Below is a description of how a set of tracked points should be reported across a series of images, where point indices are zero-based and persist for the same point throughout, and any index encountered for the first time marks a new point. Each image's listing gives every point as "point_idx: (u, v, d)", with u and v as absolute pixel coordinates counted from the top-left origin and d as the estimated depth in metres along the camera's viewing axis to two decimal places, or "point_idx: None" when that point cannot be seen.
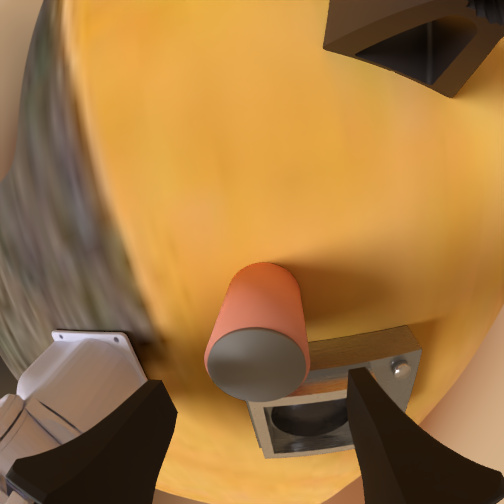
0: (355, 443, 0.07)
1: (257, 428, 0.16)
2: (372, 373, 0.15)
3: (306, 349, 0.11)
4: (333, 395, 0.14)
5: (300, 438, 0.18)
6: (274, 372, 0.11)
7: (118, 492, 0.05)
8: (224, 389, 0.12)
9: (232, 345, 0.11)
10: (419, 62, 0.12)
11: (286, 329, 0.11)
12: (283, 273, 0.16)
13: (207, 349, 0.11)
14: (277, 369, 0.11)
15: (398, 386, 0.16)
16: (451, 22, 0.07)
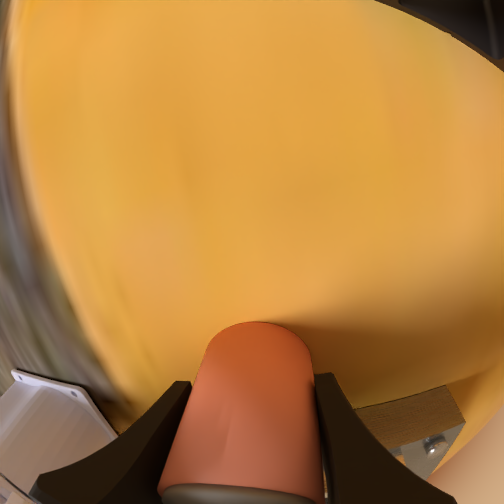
0: (321, 449, 0.08)
1: None
2: (402, 459, 0.08)
3: (321, 499, 0.04)
4: None
5: None
6: None
7: (152, 502, 0.05)
8: None
9: (195, 499, 0.04)
10: (480, 28, 0.05)
11: (290, 487, 0.04)
12: (288, 341, 0.10)
13: (159, 488, 0.05)
14: None
15: (427, 459, 0.09)
16: None
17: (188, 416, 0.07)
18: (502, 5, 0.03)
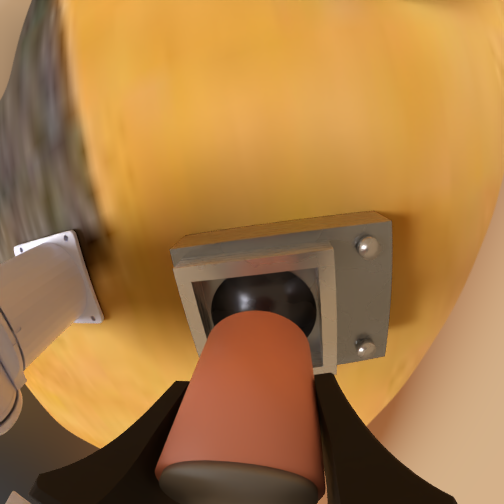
0: None
1: (189, 323, 0.14)
2: (328, 243, 0.13)
3: (320, 480, 0.05)
4: (276, 263, 0.13)
5: None
6: None
7: (152, 502, 0.05)
8: None
9: (191, 479, 0.05)
10: None
11: (285, 464, 0.05)
12: (285, 327, 0.10)
13: (157, 471, 0.05)
14: (271, 502, 0.05)
15: (371, 279, 0.14)
16: None
17: (186, 399, 0.07)
18: None
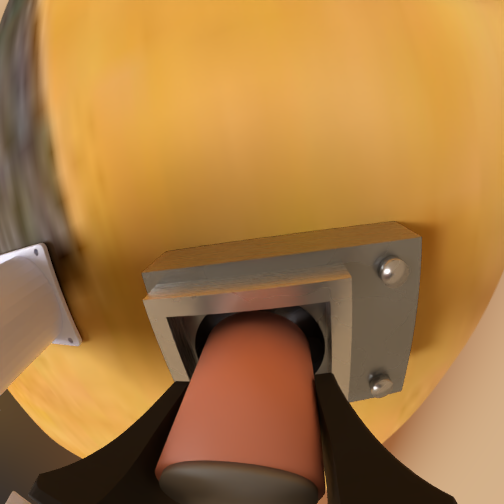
0: None
1: (168, 363, 0.11)
2: (343, 267, 0.10)
3: (320, 480, 0.05)
4: (274, 296, 0.10)
5: None
6: None
7: (152, 502, 0.05)
8: None
9: (191, 479, 0.05)
10: None
11: (285, 464, 0.05)
12: (285, 328, 0.10)
13: (157, 471, 0.05)
14: (271, 502, 0.05)
15: (393, 309, 0.11)
16: None
17: (186, 399, 0.07)
18: None
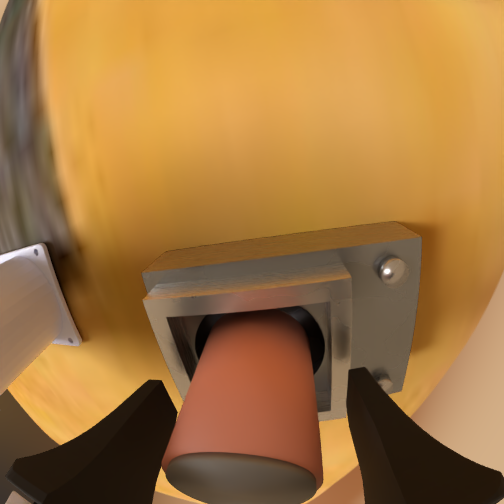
0: (355, 443, 0.07)
1: (168, 363, 0.11)
2: (343, 267, 0.10)
3: (318, 470, 0.05)
4: (274, 296, 0.10)
5: None
6: (268, 493, 0.05)
7: (118, 492, 0.05)
8: (198, 499, 0.06)
9: (197, 470, 0.05)
10: None
11: (285, 454, 0.05)
12: (285, 322, 0.11)
13: (163, 463, 0.06)
14: (271, 492, 0.05)
15: (393, 309, 0.11)
16: None
17: (191, 393, 0.08)
18: None
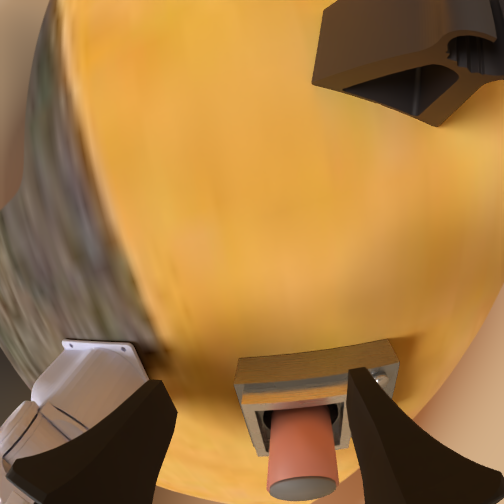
0: (355, 443, 0.07)
1: (250, 429, 0.18)
2: None
3: (337, 479, 0.12)
4: (316, 401, 0.16)
5: None
6: (315, 490, 0.12)
7: (118, 492, 0.05)
8: (279, 498, 0.13)
9: (288, 485, 0.12)
10: (406, 93, 0.14)
11: (325, 474, 0.12)
12: (318, 407, 0.17)
13: (270, 484, 0.12)
14: (317, 490, 0.12)
15: None
16: None
17: (277, 451, 0.14)
18: (425, 73, 0.12)
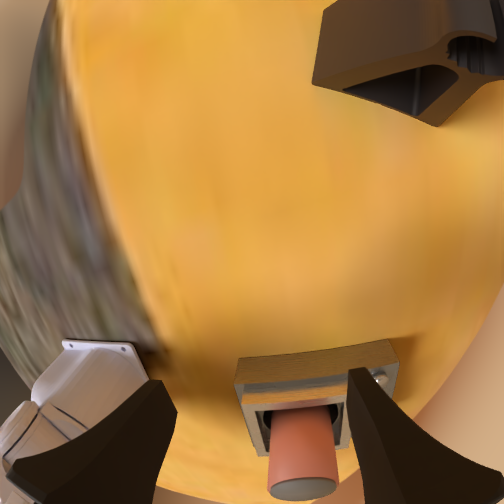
0: (355, 443, 0.07)
1: (250, 429, 0.18)
2: None
3: (337, 480, 0.12)
4: (316, 401, 0.16)
5: None
6: (315, 491, 0.12)
7: (118, 492, 0.05)
8: (280, 498, 0.13)
9: (289, 486, 0.12)
10: (406, 93, 0.14)
11: (325, 475, 0.12)
12: (318, 408, 0.17)
13: (270, 485, 0.12)
14: (317, 490, 0.12)
15: None
16: None
17: (277, 452, 0.14)
18: (425, 73, 0.12)
